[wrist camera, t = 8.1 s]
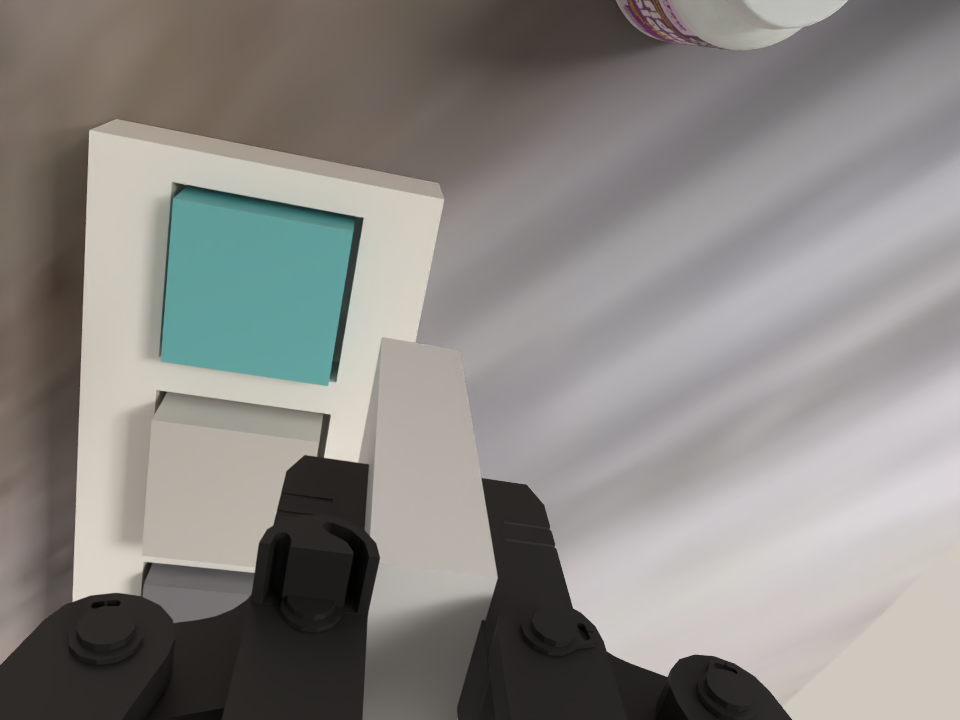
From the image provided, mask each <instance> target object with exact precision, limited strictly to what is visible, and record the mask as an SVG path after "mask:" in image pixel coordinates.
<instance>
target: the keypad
mask: <svg viewBox="0 0 960 720" xmlns="http://www.w3.org/2000/svg"><path fill="white" fill-rule="evenodd" d="M187 185H191V186H197V187H202V188H207V189H213V190H218V191H223V192H229V193H234V194H239V195H245V196H250V197H255V198H261V199H266V200H271V201H277V202H282V203H287V204H293V205H298V206H303V207H309V208H314V209H319V210H325V211H330V212H335V213H341V214H346V215H351V216H355V222H354V230H353V237H352V243H351V249H350V255H349V261H348V268H347V274H346V280H345V286H344V292H343V298H342V304H341V311H340V317H339V323H338V329H337V335H336V341H335V347H334V354H333V360H332V366H331V372H330V378H329V384H328V386H323V385H317V384H310V383H303V382H296V381H289V380H282V379H276V378H269V377H262V376H255V375H248V374H242V373H235V372H228V371H221V370H214V369H207V368H201V367H194V366H187V365H180V364H173V363H167V362H161V351H162V338H163V325H164V312H165V298H166V285H167V272H168V259H169V246H170V233H171V220H172V206H173V198H174V197H175V196H176V195H178V194H179V193H180V192H181V191H182V190H183V189H184V188H185V187H186V186H187ZM443 203H444V197H443V194H442V191H441V188H440V186H439V183H435V182H430V181H425V180H420V179H415V178H410V177H405V176H400V175H395V174H390V173H385V172H380V171H375V170H370V169H365V168H360V167H355V166H350V165H345V164H340V163H335V162H330V161H325V160H320V159H315V158H310V157H305V156H300V155H295V154H290V153H285V152H280V151H275V150H270V149H265V148H260V147H255V146H250V145H245V144H240V143H235V142H230V141H225V140H220V139H215V138H210V137H205V136H200V135H195V134H189V133H184V132H179V131H174V130H169V129H164V128H159V127H154V126H149V125H144V124H139V123H134V122H129V121H124V120H119V119H115V120H113V121H110V122H108V123H105V124H103V125H101V126H98V127H96V128H93V129H91V130H89V154H88V182H87V210H86V238H85V266H84V294H83V322H82V350H81V378H80V406H79V434H78V461H77V489H76V517H75V545H74V573H73V601H72V602H74V601H77V600H79V599H82V598H85V597H88V596H91V595H100V594H109V593H122V594H130V595H137V596H142V597H143V587H144V583H145V580H146V578H147V575H148V573H149V570H150V568H151V566H152V563H163V564H172V565H182V566H192V567H202V568H212V569H222V570H232V571H241V572H251V573H255V567H246V566H237V565H227V564H217V563H207V562H198V561H188V560H178V559H169V558H159V557H149V556H142V545H143V531H144V518H145V504H146V491H147V477H148V463H149V450H150V436H151V423H152V419H153V417H154V415H155V413H156V411H157V410H158V408H159V406H160V404H161V402H162V401H163V399H164V397H165V395H166V393H167V392H174V393H181V394H188V395H195V396H203V397H210V398H217V399H224V400H231V401H238V402H245V403H252V404H260V405H267V406H274V407H281V408H288V409H295V410H302V411H310V412H317V413H323V419H322V426H321V434H320V441H319V447H318V453H317V457H322V458H329V459H336V460H343V461H350V462H357V463H358V460H359V455H360V449H361V444H362V439H363V434H364V428H365V423H366V418H367V413H368V407H369V402H370V397H371V392H372V386H373V381H374V376H375V371H376V365H377V360H378V355H379V350H380V344H381V339H382V337H385V338H391V339H397V340H403V341H408V342H414V343H415V342H416V337H417V332H418V327H419V322H420V317H421V312H422V307H423V302H424V297H425V292H426V287H427V282H428V277H429V273H430V268H431V263H432V258H433V253H434V248H435V243H436V238H437V233H438V228H439V223H440V218H441V213H442V208H443Z"/></svg>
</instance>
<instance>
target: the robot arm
mask: <svg viewBox="0 0 960 720" xmlns="http://www.w3.org/2000/svg"><path fill="white" fill-rule="evenodd" d="M554 547H555V542H554V539H553V535H552V532H551V530H550V524H549V521H548V517H547V514H546V510H545V507H544V504H543V503H542V502H541V501H540V500H539V499H538V497H537V496H536V495H535V494H534V493H533V492H532V491H531V489H530V488H529V487H528V486H527V485H525V484H518V483H511V482H504V481H497V480H490V479H483V478H481V473H480V467H479V461H478V455H477V449H476V443H475V437H474V431H473V425H472V418H471V412H470V406H469V400H468V394H467V388H466V382H465V376H464V370H463V364H462V358H461V352H460V350H455V349H449V348H443V347H438V346H432V345H426V344H420V343H414V342H408V341H403V340H397V339H391V338H385V337H382V339H381V344H380V350H379V355H378V360H377V365H376V371H375V376H374V381H373V386H372V392H371V397H370V402H369V407H368V413H367V418H366V423H365V428H364V434H363V439H362V444H361V449H360V455H359V460H358V463H357V462H350V461H343V460H336V459H329V458H322V457H315V456H308V455H304V456H303V457H302V458H301V459H299V460H298V461H297V462H296V463H295V464H294V465H293V466H292V467H291V468H289V469H288V470H287V471H286V475H285V479H284V483H283V487H282V491H281V496H280V500H279V504H278V508H277V513H276V516H275V520H274V524H273V526H272V527H270V528H268V529H267V530H266V532H265V534H264V535H263V537H262V538H261V540H260V542H259V545H258V552H257V560H256V567H255V574H254V581H253V588H252V594H251V595H250V596H249V598H248V599H247V600H246V601H244V602H243V603H241V604H240V605H238V606H237V607H235V608H234V609H232V610H230V611H227V612H225V613H222V614H220V615H217V616H214V617H209V618H204V619H200V620H193V621H185V622H178V623H173V619H172V618H171V617H170V616H169V615H168V613H167V612H166V611H165V610H164V609H163V608H162V606H161V605H159V604H157V603H155V602H152V601H150V600H148V599H146V598H144V597H142V596H137V595H130V594H122V593H109V594H100V595H91V596H88V597H85V598H82V599H79V600H77V601H74V602H71V603H69V604H66V605H64V606H63V607H61V608H60V609H59V610H57V611H56V612H54V613H53V614H52V615H50V616H49V617H48V618H46V619H45V620H44V621H43V622H42V623H41V624H40V625H39V626H38V627H37V628H36V629H35V630H34V631H33V632H32V633H31V634H30V635H29V636H28V637H27V638H26V639H25V640H24V641H23V642H22V643H21V645H20V646H19V647H18V648H17V649H16V650H15V651H14V652H13V653H12V654H11V655H10V656H9V657H8V658H7V659H6V660H5V661H4V662H3V663H2V664H1V665H0V720H457V718H458V720H792V719H791V718H790V717H789V715H788V714H787V713H786V711H785V710H784V709H783V708H782V706H781V705H780V704H779V703H778V701H777V700H776V699H775V697H774V696H773V695H772V694H771V692H770V691H769V690H768V689H767V688H766V687H765V686H764V685H763V684H762V683H761V682H760V681H759V680H758V679H757V678H756V677H755V676H753V675H752V674H750V673H748V672H747V671H745V670H744V669H742V668H740V667H739V666H737V665H736V664H734V663H731V662H728V661H725V660H723V659H720V658H717V657H714V656H704V655H692V656H689V657H685V658H682V659H679V661H678V662H677V663H676V664H675V665H674V667H673V668H672V669H671V671H670V673H669V675H668V677H666V676H663V675H660V674H657V673H655V672H652V671H649V670H646V669H644V668H641V667H638V666H635V665H633V664H630V663H628V662H626V661H623V660H621V659H619V658H617V657H615V656H613V655H611V654H610V653H608V652H607V651H606V648H605V645H604V642H603V640H602V638H601V636H600V634H599V632H598V631H597V629H596V627H595V626H594V625H593V624H592V623H591V622H590V621H589V620H588V619H587V618H586V617H585V616H584V615H583V614H581V613H580V612H578V611H577V610H575V609H573V607H572V603H571V600H570V596H569V592H568V589H567V585H566V582H565V578H564V575H563V571H562V567H561V564H560V560H559V557H558V553H557V550H556V548H554Z"/></svg>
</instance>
